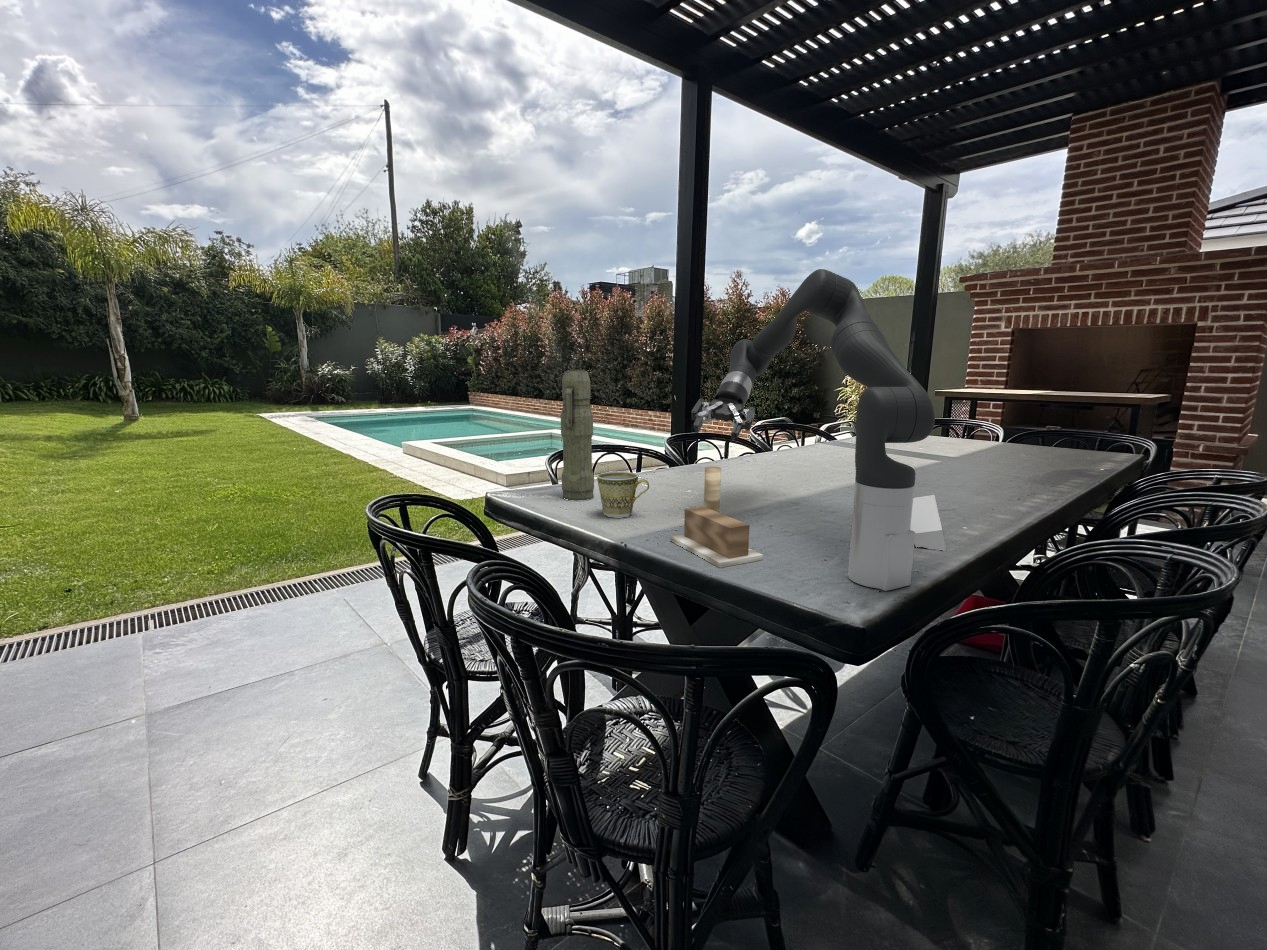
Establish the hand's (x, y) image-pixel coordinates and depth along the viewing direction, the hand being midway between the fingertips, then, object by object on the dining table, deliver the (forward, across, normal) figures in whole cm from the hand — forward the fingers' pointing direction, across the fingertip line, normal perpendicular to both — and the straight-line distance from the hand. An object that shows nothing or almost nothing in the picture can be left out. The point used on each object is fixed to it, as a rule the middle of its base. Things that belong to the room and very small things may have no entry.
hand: (714, 433), depth 133 cm
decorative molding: (-4, +47, +20) cm, 51 cm away
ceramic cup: (+15, -18, +19) cm, 30 cm away
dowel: (+16, +4, +15) cm, 22 cm away
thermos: (+5, -37, +28) cm, 47 cm away
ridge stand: (+28, +8, +6) cm, 30 cm away
